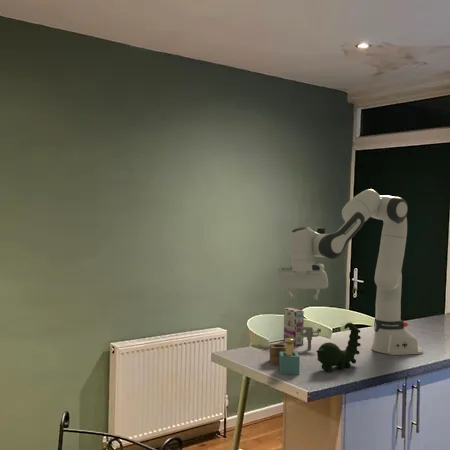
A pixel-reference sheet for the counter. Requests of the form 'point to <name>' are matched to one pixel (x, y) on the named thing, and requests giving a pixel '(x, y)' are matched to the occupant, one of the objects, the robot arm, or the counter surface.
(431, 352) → the counter surface
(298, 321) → the candy bar box
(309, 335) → the mechanical component
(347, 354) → the toy figurine
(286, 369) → the socket block
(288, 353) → the lock pin
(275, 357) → the pin mount
